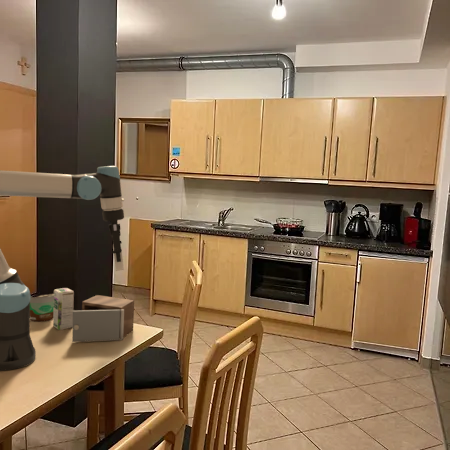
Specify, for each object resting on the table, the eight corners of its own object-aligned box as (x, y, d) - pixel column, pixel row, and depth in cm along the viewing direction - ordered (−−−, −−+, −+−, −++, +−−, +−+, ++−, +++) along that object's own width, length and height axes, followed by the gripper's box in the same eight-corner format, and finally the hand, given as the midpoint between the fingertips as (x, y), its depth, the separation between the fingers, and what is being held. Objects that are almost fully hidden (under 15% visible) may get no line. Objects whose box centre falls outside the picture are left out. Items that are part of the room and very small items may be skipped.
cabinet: (81, 333, 168) (82, 301, 166) (96, 324, 178) (96, 295, 176) (120, 339, 164) (121, 307, 162) (133, 330, 173) (134, 300, 172)
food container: (34, 325, 173) (35, 299, 172) (26, 321, 177) (26, 296, 176) (63, 318, 183) (63, 294, 182) (54, 314, 187) (55, 290, 186)
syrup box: (52, 326, 173) (52, 289, 172) (67, 323, 177) (68, 287, 176) (58, 330, 169) (58, 292, 168) (73, 327, 173) (74, 290, 172)
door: (123, 338, 163) (124, 309, 162) (123, 341, 161) (124, 311, 160) (72, 340, 159) (73, 310, 158) (72, 343, 157) (72, 312, 156)
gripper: (124, 212, 153) (131, 272, 156) (121, 204, 176) (127, 256, 180) (102, 214, 151) (109, 275, 155) (101, 205, 174) (108, 259, 178)
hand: (119, 265), depth 167 cm, fingers open, 13 cm apart
